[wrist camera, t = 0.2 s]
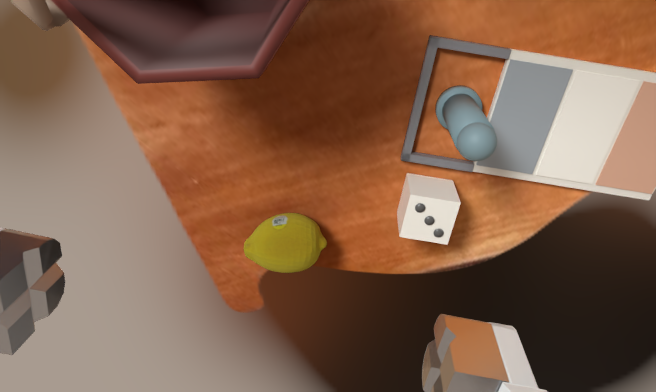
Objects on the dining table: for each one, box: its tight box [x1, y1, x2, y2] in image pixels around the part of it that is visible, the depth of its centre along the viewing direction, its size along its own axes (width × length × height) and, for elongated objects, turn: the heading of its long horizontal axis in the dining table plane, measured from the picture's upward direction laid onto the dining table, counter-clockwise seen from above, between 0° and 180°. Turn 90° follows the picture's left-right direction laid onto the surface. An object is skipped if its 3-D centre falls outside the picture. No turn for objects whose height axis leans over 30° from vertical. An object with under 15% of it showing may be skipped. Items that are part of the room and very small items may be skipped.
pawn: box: [436, 86, 497, 161], centre depth 50 cm, size 5×5×13 cm
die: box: [397, 173, 461, 245], centre depth 59 cm, size 6×6×6 cm
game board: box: [401, 35, 656, 200], centre depth 56 cm, size 15×32×1 cm, turn 82°
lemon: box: [244, 213, 327, 273], centre depth 62 cm, size 11×8×8 cm
